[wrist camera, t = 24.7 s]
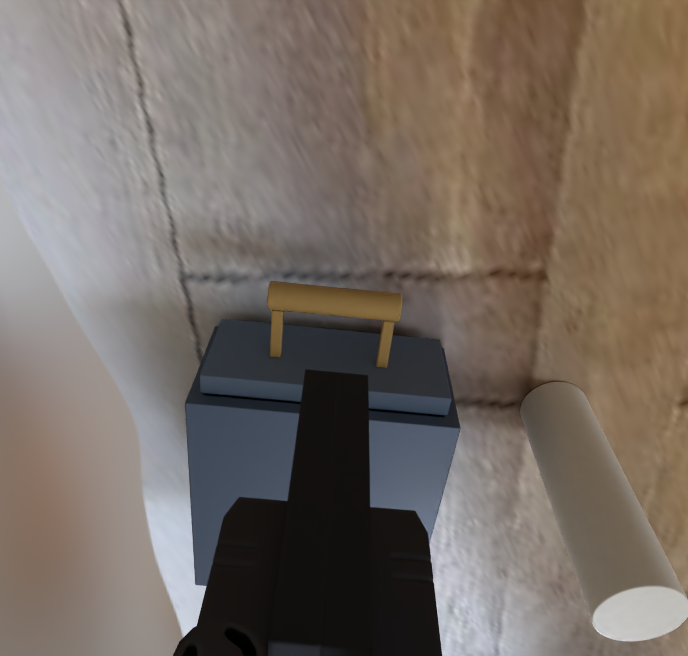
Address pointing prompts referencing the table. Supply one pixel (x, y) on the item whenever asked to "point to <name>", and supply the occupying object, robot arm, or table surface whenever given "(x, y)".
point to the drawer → (327, 352)
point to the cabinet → (278, 450)
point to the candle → (601, 519)
